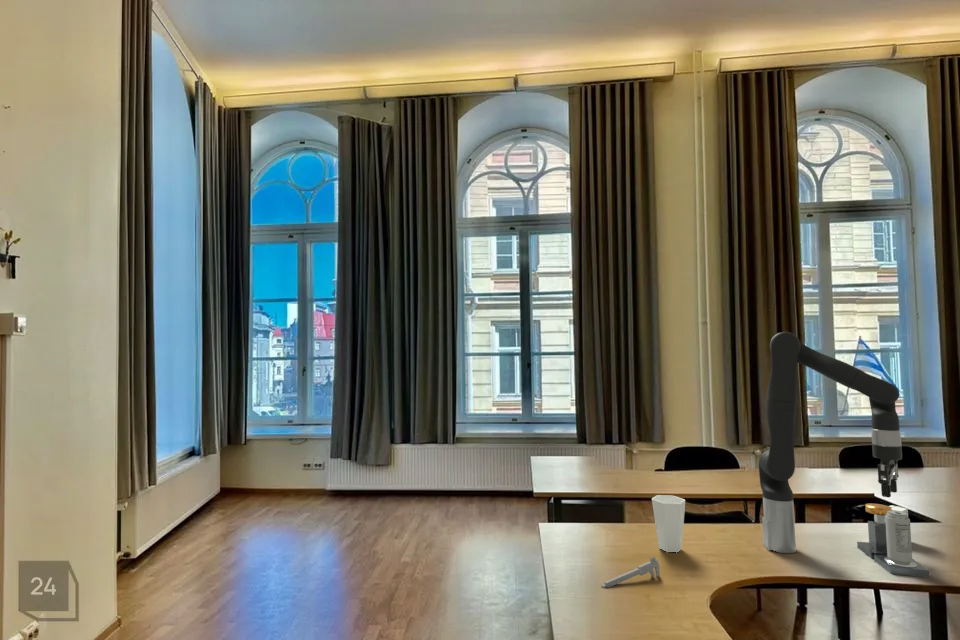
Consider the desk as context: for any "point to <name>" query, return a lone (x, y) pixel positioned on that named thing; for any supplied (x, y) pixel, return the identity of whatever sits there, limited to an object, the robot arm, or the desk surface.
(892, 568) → the plate
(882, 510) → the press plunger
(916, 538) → the desk surface
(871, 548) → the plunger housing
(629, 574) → the caliper
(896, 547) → the energy drink can
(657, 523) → the cup
